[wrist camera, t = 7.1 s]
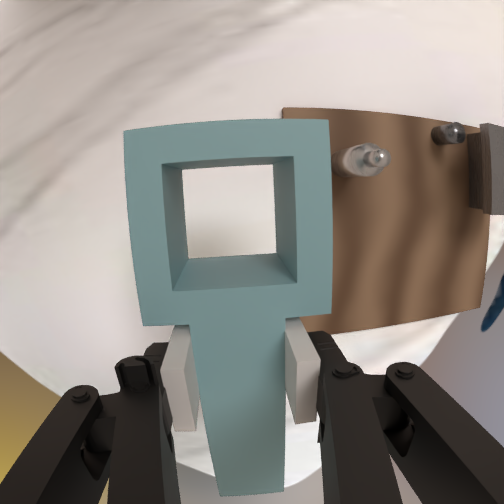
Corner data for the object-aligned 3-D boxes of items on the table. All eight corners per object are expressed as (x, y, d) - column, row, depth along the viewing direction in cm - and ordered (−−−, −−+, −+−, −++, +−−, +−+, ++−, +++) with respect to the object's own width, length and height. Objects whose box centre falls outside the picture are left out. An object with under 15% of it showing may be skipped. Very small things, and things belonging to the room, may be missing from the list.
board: (290, 336, 30) (291, 338, 30) (282, 109, 26) (283, 107, 26) (477, 305, 32) (480, 307, 31) (483, 130, 28) (487, 129, 27)
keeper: (433, 207, 28) (476, 214, 22) (430, 125, 27) (472, 116, 20) (486, 207, 29) (528, 214, 22) (483, 134, 27) (525, 130, 20)
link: (154, 146, 15) (123, 130, 10) (297, 138, 15) (328, 119, 10) (193, 439, 18) (188, 496, 14) (298, 432, 19) (314, 486, 14)
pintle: (328, 177, 28) (367, 175, 19) (326, 150, 27) (365, 138, 19) (352, 177, 28) (399, 176, 19) (351, 151, 27) (397, 140, 19)
